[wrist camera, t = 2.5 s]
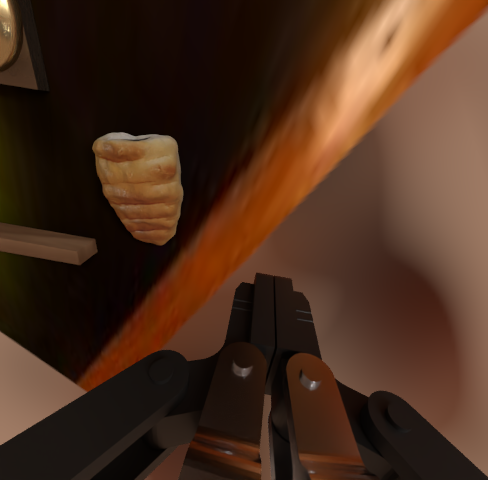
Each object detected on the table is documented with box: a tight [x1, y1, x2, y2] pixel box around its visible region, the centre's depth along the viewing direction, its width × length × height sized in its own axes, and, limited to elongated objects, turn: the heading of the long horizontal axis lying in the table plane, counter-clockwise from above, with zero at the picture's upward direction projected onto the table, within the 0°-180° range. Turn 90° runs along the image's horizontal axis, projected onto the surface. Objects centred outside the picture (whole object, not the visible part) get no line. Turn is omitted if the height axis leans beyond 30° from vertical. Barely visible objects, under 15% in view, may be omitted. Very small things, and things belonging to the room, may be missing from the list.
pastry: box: [92, 132, 183, 245], centre depth 19 cm, size 9×7×4 cm
